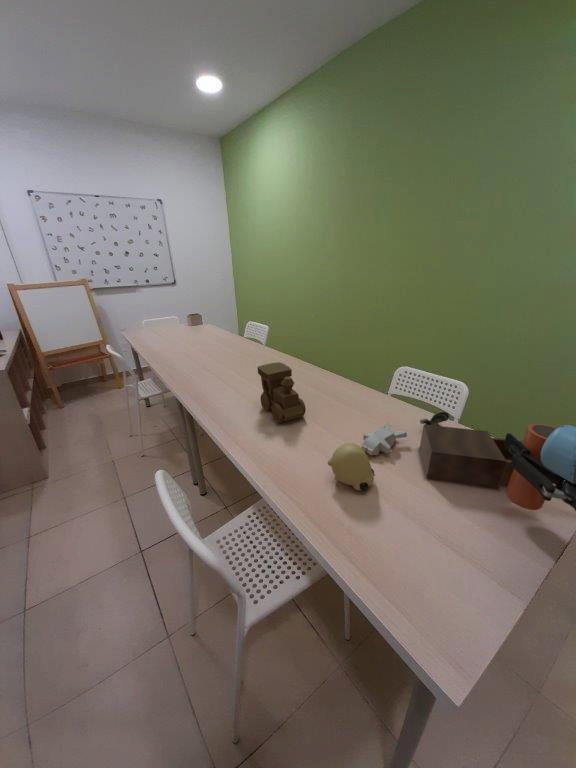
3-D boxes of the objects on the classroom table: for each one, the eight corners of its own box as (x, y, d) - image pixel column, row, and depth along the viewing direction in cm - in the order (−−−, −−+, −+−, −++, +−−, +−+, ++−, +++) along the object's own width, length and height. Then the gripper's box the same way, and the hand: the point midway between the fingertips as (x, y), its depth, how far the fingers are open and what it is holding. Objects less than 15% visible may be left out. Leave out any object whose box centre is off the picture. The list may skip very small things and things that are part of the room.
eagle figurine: (445, 437, 94) (454, 421, 100) (434, 418, 93) (444, 404, 99) (423, 440, 100) (432, 425, 106) (413, 422, 99) (423, 408, 105)
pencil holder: (533, 490, 68) (559, 425, 61) (548, 512, 62) (579, 443, 55) (500, 485, 69) (522, 421, 62) (512, 507, 63) (537, 438, 57)
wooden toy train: (257, 405, 120) (255, 366, 113) (282, 398, 125) (281, 360, 118) (280, 428, 104) (279, 384, 97) (308, 419, 108) (308, 377, 102)
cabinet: (480, 456, 87) (487, 431, 84) (497, 489, 75) (506, 461, 72) (419, 448, 91) (423, 424, 88) (426, 478, 79) (431, 451, 76)
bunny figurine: (354, 436, 91) (385, 416, 98) (354, 450, 93) (384, 428, 100) (380, 451, 84) (411, 428, 91) (379, 465, 86) (410, 441, 93)
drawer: (536, 461, 83) (543, 441, 80) (561, 493, 72) (571, 471, 69) (469, 453, 87) (474, 433, 84) (482, 482, 76) (489, 460, 73)
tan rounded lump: (343, 502, 77) (376, 494, 70) (316, 463, 77) (345, 451, 70) (358, 479, 84) (389, 469, 77) (333, 444, 84) (362, 431, 77)
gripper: (545, 541, 47) (473, 451, 68) (684, 548, 45) (566, 454, 66) (562, 504, 44) (481, 423, 65) (712, 511, 42) (579, 425, 63)
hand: (524, 439), depth 65 cm, fingers closed on pencil holder, 7 cm apart
